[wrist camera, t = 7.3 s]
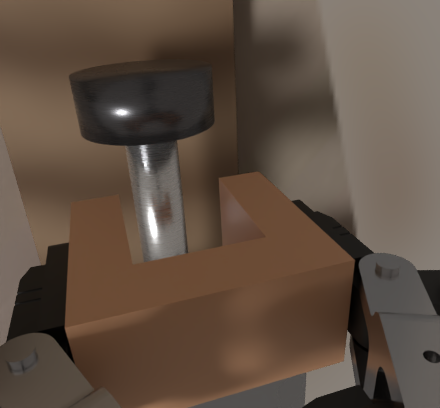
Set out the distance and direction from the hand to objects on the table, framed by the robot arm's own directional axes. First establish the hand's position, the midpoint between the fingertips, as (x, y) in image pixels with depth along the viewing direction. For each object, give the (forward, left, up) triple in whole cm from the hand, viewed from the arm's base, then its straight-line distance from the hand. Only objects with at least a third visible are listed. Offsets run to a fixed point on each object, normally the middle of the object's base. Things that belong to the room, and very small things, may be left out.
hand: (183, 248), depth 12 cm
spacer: (0, 0, -1) cm, 1 cm away
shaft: (+1, 0, -8) cm, 8 cm away
